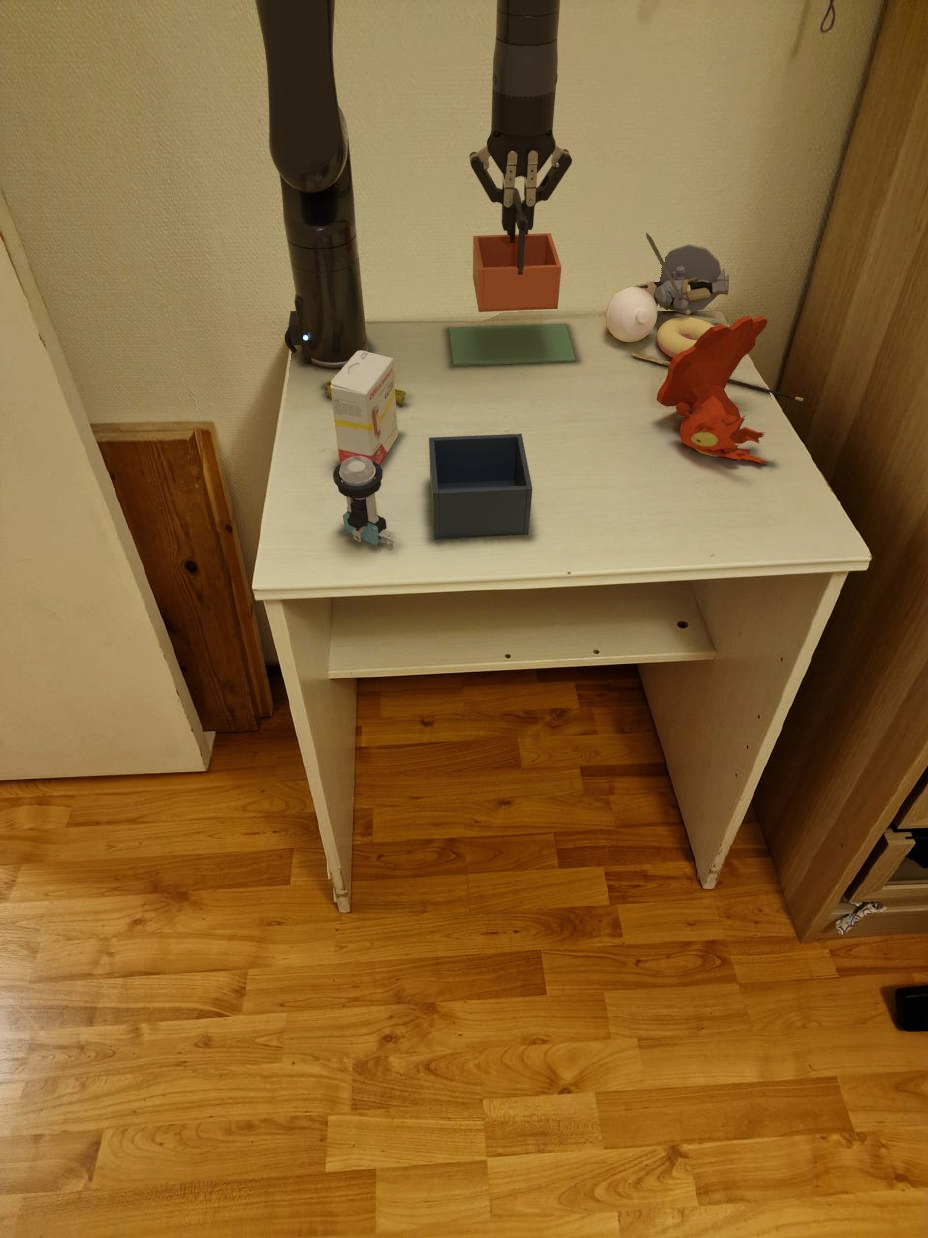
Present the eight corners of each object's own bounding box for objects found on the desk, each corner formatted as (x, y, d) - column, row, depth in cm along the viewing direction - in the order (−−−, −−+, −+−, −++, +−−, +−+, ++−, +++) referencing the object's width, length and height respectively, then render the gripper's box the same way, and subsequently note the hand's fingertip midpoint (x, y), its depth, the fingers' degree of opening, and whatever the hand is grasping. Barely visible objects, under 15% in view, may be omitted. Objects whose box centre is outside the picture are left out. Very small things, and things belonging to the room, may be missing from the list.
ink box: (374, 475, 100) (366, 393, 91) (338, 466, 101) (326, 385, 92) (400, 435, 106) (395, 355, 97) (366, 428, 107) (357, 347, 98)
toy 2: (640, 380, 100) (712, 464, 94) (761, 288, 97) (843, 369, 90) (658, 425, 111) (723, 503, 105) (767, 344, 108) (841, 419, 102)
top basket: (478, 312, 110) (479, 221, 101) (472, 277, 117) (473, 188, 108) (557, 308, 111) (566, 218, 102) (547, 274, 117) (554, 186, 108)
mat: (453, 366, 116) (453, 363, 116) (448, 330, 123) (448, 327, 123) (575, 361, 117) (575, 359, 117) (564, 326, 124) (565, 323, 124)
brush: (630, 352, 118) (803, 399, 110) (633, 349, 118) (804, 395, 111) (629, 357, 118) (801, 404, 111) (632, 354, 119) (802, 400, 112)
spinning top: (618, 347, 128) (649, 355, 117) (581, 321, 125) (608, 326, 114) (645, 302, 126) (679, 306, 115) (608, 275, 123) (639, 276, 112)
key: (408, 388, 110) (393, 407, 107) (409, 396, 111) (394, 416, 108) (332, 371, 113) (315, 390, 110) (333, 379, 114) (316, 398, 111)
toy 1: (713, 176, 108) (605, 202, 115) (708, 244, 105) (598, 267, 112) (734, 277, 125) (639, 294, 132) (730, 338, 122) (633, 352, 129)
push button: (406, 534, 94) (401, 466, 86) (378, 561, 91) (371, 493, 83) (361, 513, 96) (352, 444, 88) (332, 538, 93) (321, 470, 85)
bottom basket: (434, 539, 93) (432, 493, 88) (430, 483, 99) (428, 437, 94) (528, 534, 94) (532, 488, 88) (518, 479, 100) (521, 433, 95)
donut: (687, 385, 117) (732, 358, 120) (695, 361, 113) (742, 333, 116) (641, 345, 121) (685, 320, 124) (647, 321, 117) (693, 295, 119)
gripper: (576, 71, 97) (562, 218, 110) (464, 73, 96) (464, 221, 110) (587, 92, 92) (571, 243, 105) (469, 94, 92) (468, 246, 105)
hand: (516, 231), depth 107 cm, fingers closed on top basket, 1 cm apart
